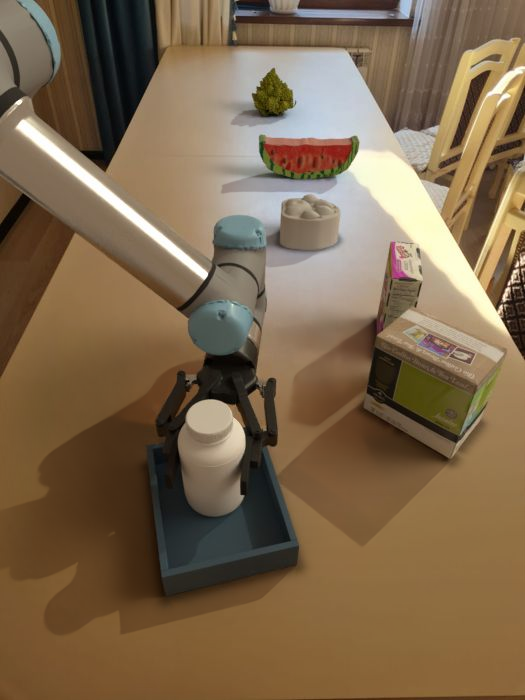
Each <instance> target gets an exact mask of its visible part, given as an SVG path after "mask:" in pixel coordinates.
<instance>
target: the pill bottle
mask: <svg viewBox="0 0 525 700" xmlns="http://www.w3.org/2000/svg"><path fill="white" fill-rule="evenodd" d="M185 420H186V423H185V424H184V425H183V427H182V428H181V430H180V433H179V436H178V450H179V457H180V463H181V470H182V477H183V484H184V491H185V496H186V499H187V501H188V503H189V505H190V506H191V507H192V508H193V509H194V510H195V511H196V512H198V513H200V514H202V515H205V516H210V517H218V516H223V515H226V514H228V513H230V512H232V511H234V510H235V509H236V508H237V507H238V506H239V505H240V504H241V502H242V500H243V498H244V495H240V478H241V471H242V464H243V458H244V451H245V433H244V430H243V428H242V427H243V426H242V425H241V423H240V422H239V421H238V420H237V419H236V418H235V417H234V416H233V411H232V409H231V408H230V406H228V404H225V403H223V402H221V401H218V400H203V401H200V402H198V403H196V404H194V405H193V406H192V407H191V408H190V409H189V410H188V412H187V414H186V419H185Z"/></svg>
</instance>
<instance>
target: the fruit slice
mask: <svg viewBox="0 0 525 700" xmlns="http://www.w3.org/2000/svg"><path fill="white" fill-rule="evenodd" d="M359 149H360V139H359V137H358V135H352V136H350V137H346V138H345V137H344V138H315V137H301V138H290V137H269V136H266V135H265V134H261V133H260V134H259V135H258V153H259V155H260V158H261V161H262V162H263V163H264V165H265V167H266V168H267V169H268V170H270V171H271V172H273V173H274V174H276V175H282V176H285V177H287V178H290V179H295V180H314V179H320V178H329V177H333V176H337V175H341V174H342V173H345V171H347V170H349V168H350V167H351V165H352V163H353V162H354V160H355V158H356V157H357V155H358V153H359Z"/></svg>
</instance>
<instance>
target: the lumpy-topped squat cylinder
mask: <svg viewBox="0 0 525 700" xmlns="http://www.w3.org/2000/svg"><path fill="white" fill-rule="evenodd" d="M341 212H342V211H341V208H339V207H338V205H336V204H335V203H333V202H330V201H329V200H326V199H322V198H318V197H317V196H316V195H314V194H312V193H311V194H310V193H309V194H305V195H303V196H302V197H291V198H287V199H284V200H282V202H281V209H280V220H279V221H280V222H279V223H280V226H279V244H280V245H281V246H282V247H283V248H286V249H291V250H300V251H302V250H303V251H318V250H319V251H320V250H324V249H328V248H330V247H332V246H334V245H336V243H337V242H338V238H339V231H340V221H341Z"/></svg>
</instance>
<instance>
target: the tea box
mask: <svg viewBox="0 0 525 700" xmlns="http://www.w3.org/2000/svg"><path fill="white" fill-rule="evenodd" d="M508 350H509V349H508V348H506V347H504V346H502V345H500V344H497V343H496V342H493V341H491V340H488V339H486V338H485V337H482V336H480V335H477V334H475V333H473V332H470V331H468V330H467V329H464V328H462V327H459V326H457V325H455V324H453V323H451V322H449V321H446V320H444V319H442V318H439V317H437V316H435V315H432V314H430V313H428V312H426V311H423V310H421V309H418V308H417V307H416V308H415V307H412V306H411V307H410V308H409V309H408V310H407V311H405V312H404V313H403V314H402V315H401V316H399V317H398V318H397V319H396V320H395V321H394V322H392V323H391V324H390V325H389V326H388V327H386V328H385V329H384V330H383V331H382V332H381V333H379V334H378V335H377V334H376V336H375V342H374V346H373V352H372V357H371V363H370V368H369V373H368V379H367V384H366V390H365V395H364V401H363V409H365V410H367V412H370V413H371V414H373V415H374V416H377V417H378V418H380V419H382V420H384V421H385V422H386V423H388V424H390V425H392V426H393V427H395V428H397V429H398V430H400V431H403V432H404V433H406V434H407V435H409V436H410V437H412V438H413V439H415V440H417V441H419V442H420V443H422V444H424V445H426V446H427V447H429V448H431V449H432V450H434V451H436V452H437V453H439V454H441V455H442V456H444V457H446V458H448V459H450V460H451V459H453V457H454V456H455V454H456V453H457V452H458V450H459V448H461V446H462V445H463V443H464V442H465V441H466V439H467V438H468V437H469V435H470V434H471V433H472V432H473V430H475V428H476V427H477V425H478V424H479V423H480V421H481V419H482V416H483V415H484V412H485V410H486V408H487V405H488V403H489V401H490V398H491V396H492V393H493V390H494V387H495V385H496V382H497V380H498V378H499V374H500V373H501V369H502V367H503V364H504V362H505V360H506V357H507V354H508Z"/></svg>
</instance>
